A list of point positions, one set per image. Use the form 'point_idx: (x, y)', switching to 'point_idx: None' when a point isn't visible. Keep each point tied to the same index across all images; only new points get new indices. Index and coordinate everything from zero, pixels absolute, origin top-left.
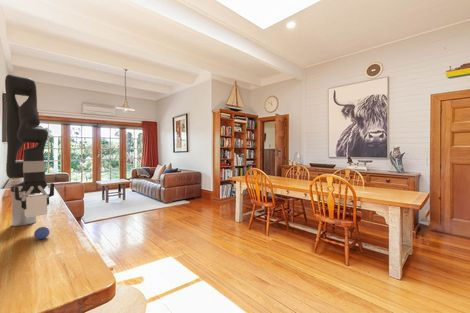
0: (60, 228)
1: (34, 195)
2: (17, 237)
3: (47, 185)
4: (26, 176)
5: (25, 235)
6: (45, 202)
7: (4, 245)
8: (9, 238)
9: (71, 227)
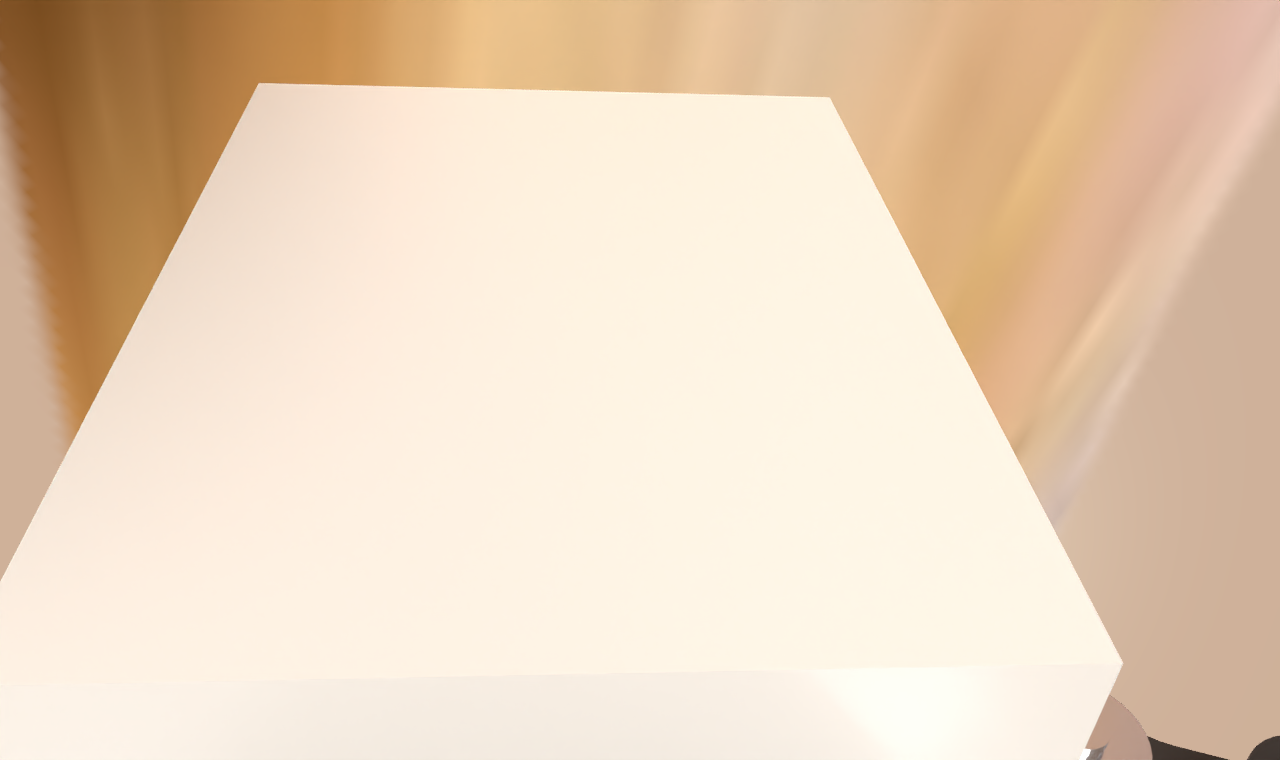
0: (971, 124)
1: None
2: (211, 90)
3: None
4: None
5: (349, 68)
6: None
7: (64, 420)
8: (67, 25)
9: (1112, 237)
